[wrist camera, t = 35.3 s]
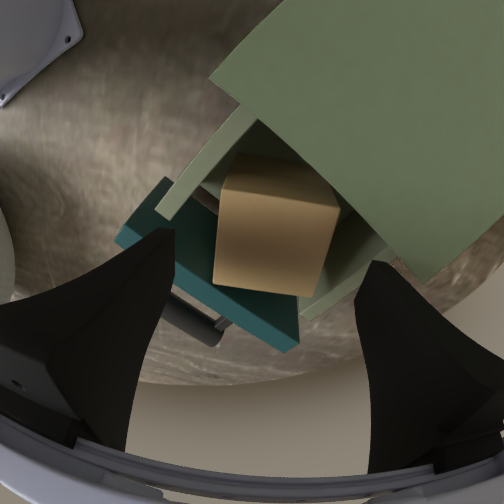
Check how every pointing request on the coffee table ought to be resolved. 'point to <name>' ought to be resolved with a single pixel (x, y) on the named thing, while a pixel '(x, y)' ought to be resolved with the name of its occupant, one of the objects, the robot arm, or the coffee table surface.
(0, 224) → the cereal bowl
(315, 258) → the block
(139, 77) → the coffee table surface
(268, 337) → the drawer
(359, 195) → the cabinet
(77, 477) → the robot arm
